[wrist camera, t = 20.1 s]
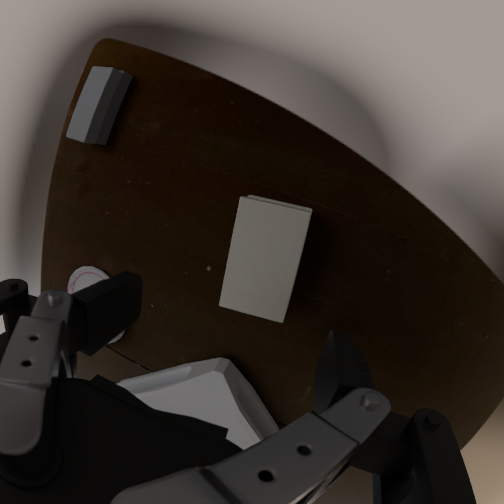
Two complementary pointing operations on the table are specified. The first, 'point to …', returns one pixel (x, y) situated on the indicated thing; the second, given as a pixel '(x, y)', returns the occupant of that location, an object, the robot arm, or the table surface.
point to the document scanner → (208, 398)
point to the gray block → (98, 105)
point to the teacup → (87, 282)
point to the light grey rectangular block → (264, 258)
